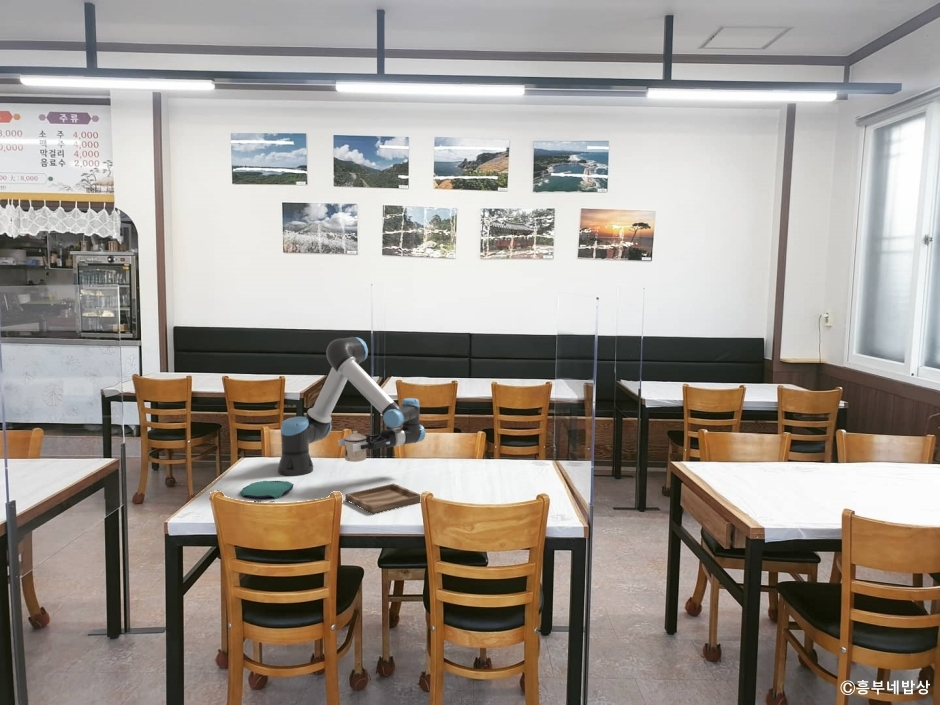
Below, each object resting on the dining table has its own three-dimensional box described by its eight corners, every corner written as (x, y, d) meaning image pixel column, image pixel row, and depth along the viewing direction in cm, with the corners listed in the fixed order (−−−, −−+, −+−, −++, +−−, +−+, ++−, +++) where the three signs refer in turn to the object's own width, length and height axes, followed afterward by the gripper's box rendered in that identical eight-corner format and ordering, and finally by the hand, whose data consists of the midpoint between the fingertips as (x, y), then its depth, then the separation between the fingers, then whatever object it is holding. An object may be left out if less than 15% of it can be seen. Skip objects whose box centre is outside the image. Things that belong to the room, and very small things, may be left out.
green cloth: (300, 485, 264) (300, 480, 264) (271, 511, 235) (270, 505, 234) (254, 484, 266) (254, 479, 266) (219, 510, 237) (219, 504, 236)
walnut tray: (345, 500, 245) (345, 494, 245) (393, 489, 259) (393, 483, 259) (372, 514, 230) (372, 507, 230) (422, 501, 244) (422, 495, 244)
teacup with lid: (345, 456, 266) (345, 428, 265) (367, 456, 266) (367, 428, 265) (341, 464, 254) (341, 435, 253) (364, 463, 255) (364, 435, 253)
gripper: (407, 451, 263) (360, 460, 249) (377, 441, 281) (332, 449, 266) (407, 433, 262) (360, 441, 248) (377, 424, 280) (331, 431, 266)
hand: (345, 445), depth 257 cm, fingers closed on teacup with lid, 10 cm apart
